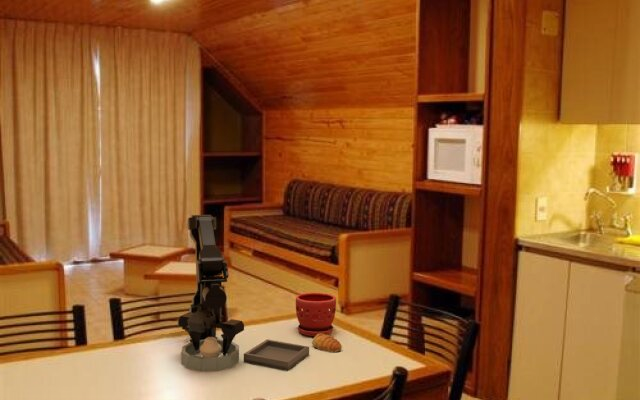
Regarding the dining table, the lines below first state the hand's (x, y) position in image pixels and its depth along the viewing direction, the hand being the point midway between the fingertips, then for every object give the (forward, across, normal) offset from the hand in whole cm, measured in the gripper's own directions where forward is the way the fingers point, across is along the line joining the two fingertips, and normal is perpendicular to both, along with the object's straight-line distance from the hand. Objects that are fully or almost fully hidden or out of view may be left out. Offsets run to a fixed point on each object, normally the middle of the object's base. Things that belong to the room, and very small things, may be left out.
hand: (210, 352), depth 187 cm
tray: (+2, +16, +10) cm, 19 cm away
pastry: (+3, +25, +26) cm, 36 cm away
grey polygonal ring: (+2, 0, 0) cm, 2 cm away
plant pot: (+2, +16, +37) cm, 40 cm away
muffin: (+2, 0, 0) cm, 2 cm away
